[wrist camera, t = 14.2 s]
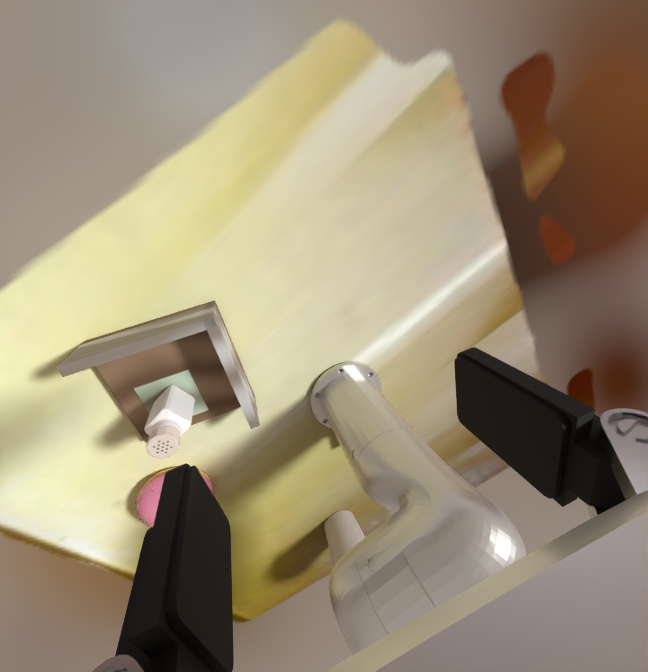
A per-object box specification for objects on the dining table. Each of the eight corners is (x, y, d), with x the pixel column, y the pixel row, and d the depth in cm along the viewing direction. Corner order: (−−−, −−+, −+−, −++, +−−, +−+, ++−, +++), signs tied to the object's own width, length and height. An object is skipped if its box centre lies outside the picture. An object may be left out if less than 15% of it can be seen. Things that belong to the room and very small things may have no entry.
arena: (254, 396, 46) (259, 425, 40) (147, 437, 43) (134, 475, 37) (214, 300, 40) (213, 316, 33) (84, 341, 37) (55, 367, 30)
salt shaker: (177, 417, 42) (166, 467, 34) (152, 402, 40) (133, 451, 32) (197, 397, 42) (190, 442, 34) (172, 381, 40) (158, 425, 32)
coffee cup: (332, 545, 65) (360, 630, 51) (308, 526, 60) (332, 613, 47) (367, 518, 65) (404, 595, 52) (346, 497, 61) (380, 575, 47)
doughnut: (226, 492, 52) (226, 513, 48) (164, 524, 50) (159, 549, 46) (193, 449, 47) (191, 469, 43) (123, 483, 45) (114, 507, 42)
